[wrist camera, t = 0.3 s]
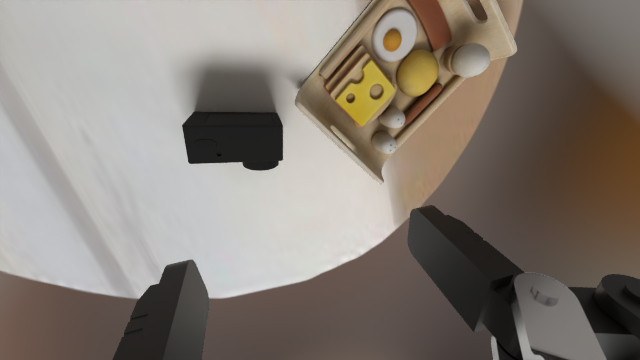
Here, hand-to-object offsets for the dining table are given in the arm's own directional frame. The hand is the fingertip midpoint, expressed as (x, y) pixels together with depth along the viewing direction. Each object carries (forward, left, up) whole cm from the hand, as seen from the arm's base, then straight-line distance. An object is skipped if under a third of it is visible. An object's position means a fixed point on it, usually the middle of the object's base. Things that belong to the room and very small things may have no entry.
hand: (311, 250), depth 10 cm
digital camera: (+3, -4, -29) cm, 29 cm away
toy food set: (0, +19, -29) cm, 35 cm away
